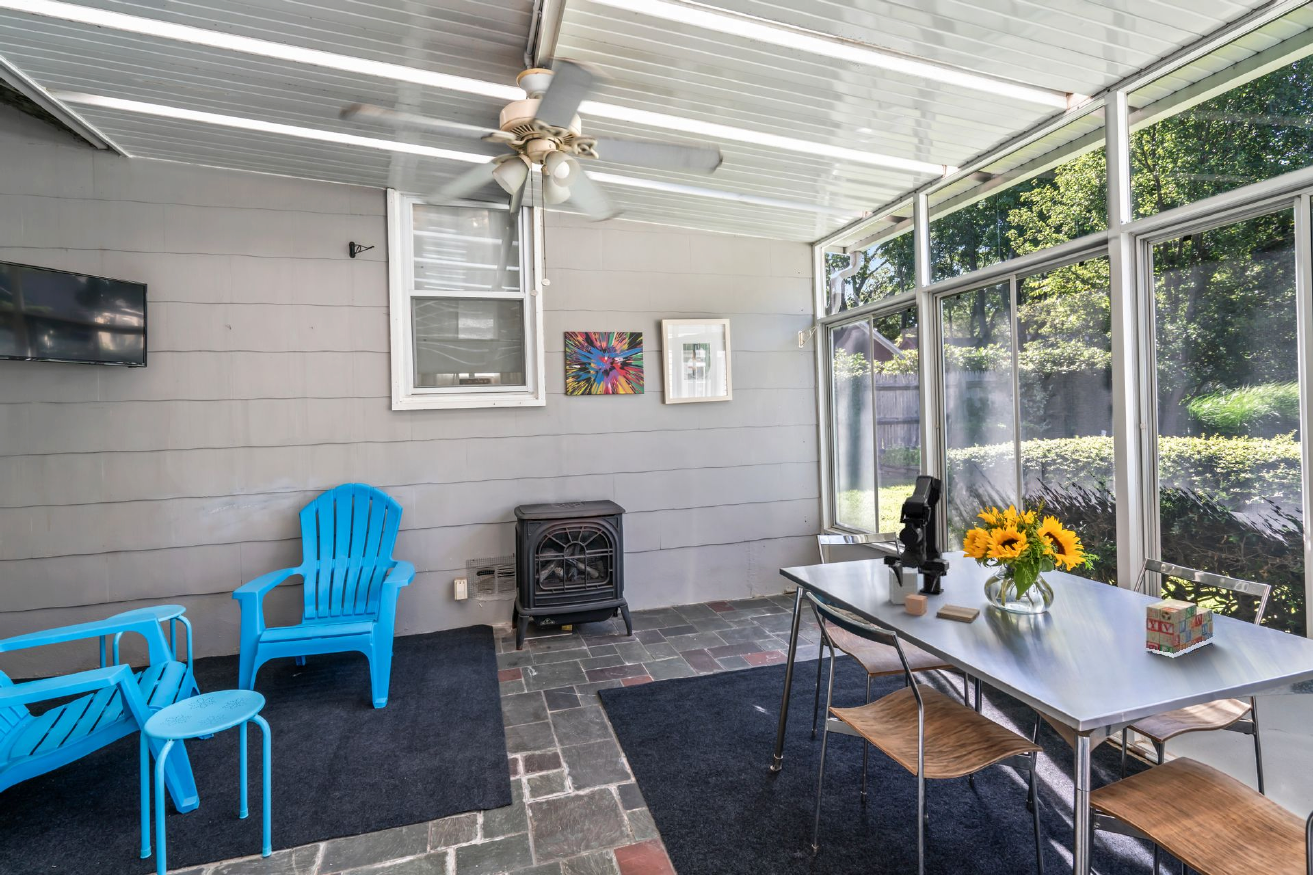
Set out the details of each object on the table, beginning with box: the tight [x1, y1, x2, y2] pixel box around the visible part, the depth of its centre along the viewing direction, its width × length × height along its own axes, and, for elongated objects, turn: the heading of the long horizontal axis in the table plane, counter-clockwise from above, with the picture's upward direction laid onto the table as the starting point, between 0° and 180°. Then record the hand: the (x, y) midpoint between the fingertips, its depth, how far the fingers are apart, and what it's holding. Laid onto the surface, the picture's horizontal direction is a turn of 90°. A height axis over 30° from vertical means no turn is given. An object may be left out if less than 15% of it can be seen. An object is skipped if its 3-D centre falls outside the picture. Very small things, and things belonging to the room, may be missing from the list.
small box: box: [888, 568, 919, 605], centre depth 217 cm, size 8×6×10 cm
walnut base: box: [936, 604, 981, 624], centre depth 202 cm, size 10×10×2 cm
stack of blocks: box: [1145, 598, 1214, 654], centre depth 172 cm, size 21×6×12 cm, turn 119°
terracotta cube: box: [905, 594, 928, 617], centre depth 206 cm, size 5×5×5 cm
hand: (916, 589), depth 206 cm, fingers open, 9 cm apart
